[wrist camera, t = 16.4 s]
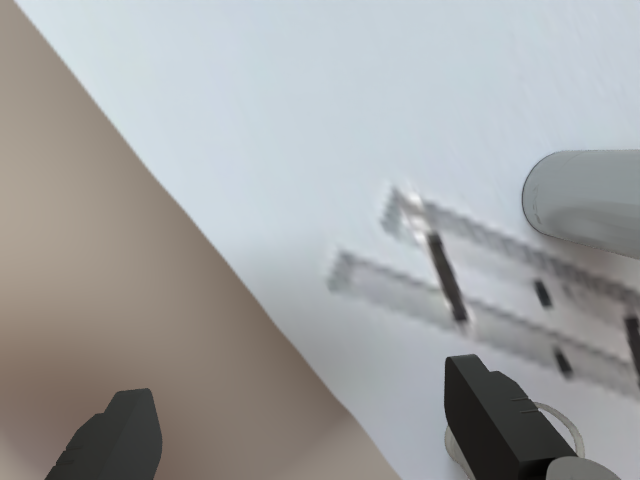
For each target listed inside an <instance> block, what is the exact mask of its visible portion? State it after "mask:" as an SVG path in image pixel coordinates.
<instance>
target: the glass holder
mask: <svg viewBox="0 0 640 480" xmlns="http://www.w3.org/2000/svg"><path fill="white" fill-rule="evenodd" d="M533 403H534V404H535V405H536V407H537V408H541V409H543V410H546V411H548V412H550V413H551V414H552V415H554V416H555V417H556V418H558V419H559V420H560V421H561V422H562V423H563V424H564V425H565V426H566V427H567V428H568V429H569V431H570V433H571V434H572V436H573V438H574V442H575V446H576V454H577V455H578V456H579V457H580V458H584V457H585V452H584V444H583V440H582V437H581V435H580V433H579V431H578V430H577V428H576V427H575V425H574V424H573V423H572V422H571V421H570V420H569V419H568V418H566V417H565V416H564V415H563V414H561V413H560V412H559V411H557V410H555V409H553V408H551V407H549V406H547V405H545V404H541V403H537V402H533ZM445 446H446V450H447V452H448V453H449V455H450V456H451V457H452V459H453V460H455V461H456V462H457V463H459V464H460V465H461V466H462V468H463V469H464V471H465V472H466V474H467V476H468V477H469V479H470V480H476V479H475V477H474V475H473V473H472V471H471V469H470V467H469V465H468V463H467V461H466V459H465V457H464V455H463V453H462V451H461V449H460V447H459V445H458V443H457V441H456V439H455V438H454V436H453V434H452V432H451V430H450V428H449V425H448V426H447V429H446V432H445Z"/></svg>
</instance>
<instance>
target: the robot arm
mask: <svg viewBox="0 0 640 480" xmlns="http://www.w3.org/2000/svg"><path fill="white" fill-rule="evenodd" d="M523 207H524V212H525V214H526V217H527V219H528V221H529V222H530V223H531V225H532V226H533V227H534V228H535V229H537V230H538V231H539V232H542V233H544V234H546V235H550V236H553V237H557V238H561V239H565V240H568V241H571V242H575V243H579V244H583V245H586V246H590V247H594V248H597V249H601V250H605V251H608V252H612V253H616V254H620V255H623V256H627V257H631V258H634V259H638V260H640V150H585V151H561V152H556V153H554V154H551V155H549V156H547V157H546V158H544V159H543V160H542V161H540V162H539V163H538V164H537V165H536V166H535V167H534V169H533V170H532V172H531V173H530V175H529V176H528V179H527V181H526V184H525V187H524V192H523ZM444 408H445V414H446V419H447V422H448V425H449V428H450V430H451V432H452V434H453V436H454V438H455V439H456V441H457V443H458V445H459V447H460V449H461V451H462V453H463V455H464V457H465V459H466V461H467V463H468V465H469V467H470V469H471V471H472V473H473V475H474V477H475V479H476V480H621V479H620V478H619V477H618V476H617V475H616V474H614V473H613V472H612V471H610V470H609V469H607V468H606V467H604V466H602V465H600V464H598V463H596V462H594V461H591V460H588V459H585V458H580V457H579V456H578V455H577V454H576V453H575V452H574V451H573V449H572V448H571V447H570V446H569V445H568V443H567V442H566V441H565V440H564V439H563V437H562V436H561V435H560V434H559V433H558V432H557V430H556V429H555V428H554V427H553V426H552V424H551V423H550V422H549V421H548V420H547V418H546V417H545V416H544V415H543V414H542V412H539V411H538V408H537V407H536V405H535V404H534V403H533V402H532V401H531V399H528V396H527V395H526V393H525V392H524V391H523V390H522V389H521V388H520V386H519V385H518V384H517V383H516V382H515V381H513V380H512V379H510V378H509V377H507V376H506V375H504V374H502V373H501V372H499V371H493V372H489V370H488V369H487V368H486V367H485V365H484V364H483V363H482V361H481V360H480V359H479V357H478V356H477V355H475V354H470V355H461V356H452V357H447V358H446V361H445V389H444ZM161 453H162V434H161V430H160V425H159V421H158V417H157V413H156V409H155V404H154V400H153V396H152V393H151V391H150V389H148V388H145V389H136V390H127V391H119V392H117V393H116V394H115V395H114V397H113V399H112V400H111V402H110V403H109V405H108V407H107V409H106V410H105V412H104V413H101V414H95V415H94V416H93V417H92V418H91V419H89V420H88V421H87V422H86V423H85V424H84V425H83V426H81V427H80V428H79V429H78V430H77V431H76V433H75V434H74V436H73V437H72V439H71V441H70V442H69V444H68V445H67V447H66V451H63V453H62V454H61V456H60V457H59V459H58V460H57V462H56V466H53V468H52V469H51V471H50V472H49V474H48V475H47V477H46V478H45V480H153V478H154V475H155V472H156V470H157V467H158V464H159V461H160V458H161Z"/></svg>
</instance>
